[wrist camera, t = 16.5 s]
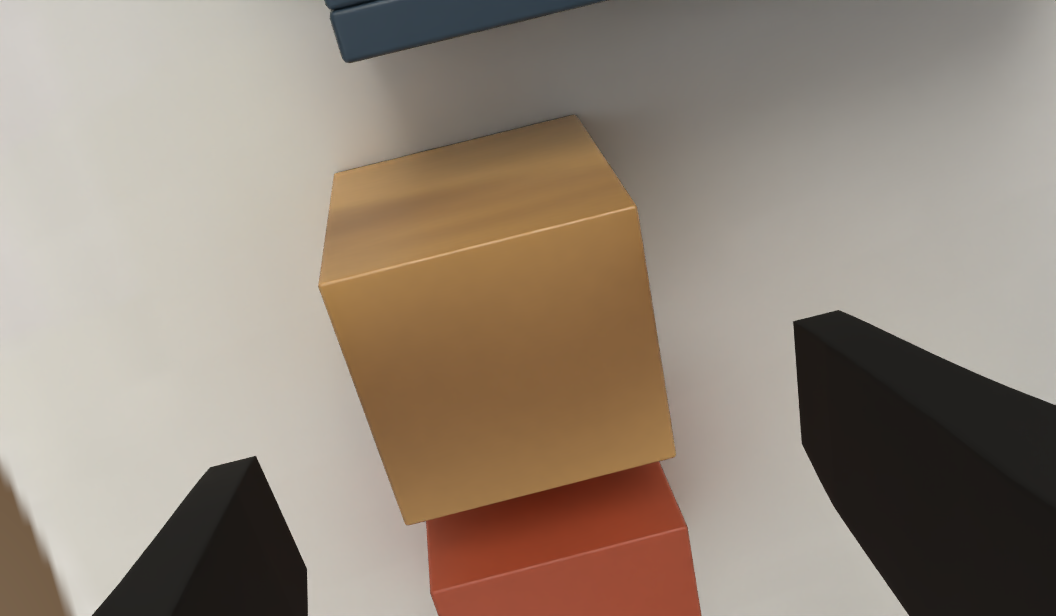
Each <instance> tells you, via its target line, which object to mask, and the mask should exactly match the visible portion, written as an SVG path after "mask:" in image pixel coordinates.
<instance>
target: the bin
mask: <svg viewBox="0 0 1056 616" xmlns="http://www.w3.org/2000/svg"><path fill="white" fill-rule="evenodd" d="M324 1H325V4H326V6H327V7H328V8H329V9H331V12H330V20H331V24H332V27H333V30H334V33H335V37H336V40H337V43H338V46H339V50H340V53H341V56H342V59H343V60H344V61H345V62H347V63H353V62H357V61H361V60H365V59H369V58H373V57H377V56H382V55H386V54H390V53H394V52H398V51H402V50H406V49H410V48H414V47H419V46H423V45H427V44H431V43H435V42H439V41H443V40H447V39H451V38H455V37H460V36H464V35H468V34H472V33H476V32H480V31H484V30H488V29H492V28H497V27H501V26H505V25H509V24H513V23H517V22H521V21H525V20H529V19H533V18H538V17H542V16H546V15H550V14H554V13H558V12H562V11H566V10H570V9H575V8H579V7H583V6H587V5H591V4H595V3H599V2H603V1H607V0H324Z"/></svg>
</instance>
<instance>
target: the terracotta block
mask: <svg viewBox="0 0 1056 616" xmlns="http://www.w3.org/2000/svg"><path fill="white" fill-rule="evenodd" d="M426 528H427V545H428V561H429V578H430V594H431V597H432V599H433V602H434V605H435V607H436V610H437V613H438V616H701V610H700V603H699V597H698V591H697V584H696V578H695V572H694V565H693V559H692V553H691V546H690V540H689V534H688V527H687V525H686V523H685V520H684V518H683V516H682V513H681V511H680V509H679V506H678V504H677V502H676V499H675V497H674V495H673V493H672V490H671V488H670V486H669V483H668V481H667V479H666V476H665V474H664V472H663V469H662V467H661V465H660V462H659V461H658V462H654V463H650V464H646V465H642V466H638V467H634V468H630V469H627V470H623V471H619V472H615V473H611V474H607V475H603V476H599V477H595V478H591V479H588V480H584V481H580V482H576V483H572V484H568V485H564V486H560V487H556V488H552V489H549V490H545V491H541V492H537V493H533V494H529V495H525V496H521V497H517V498H513V499H510V500H506V501H502V502H498V503H494V504H490V505H486V506H482V507H478V508H475V509H471V510H467V511H463V512H459V513H455V514H451V515H447V516H443V517H439V518H436V519H432V520H428V521H426Z"/></svg>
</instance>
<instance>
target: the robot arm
mask: <svg viewBox="0 0 1056 616" xmlns="http://www.w3.org/2000/svg"><path fill="white" fill-rule="evenodd" d="M793 324H794V339H795V353H796V367H797V382H798V396H799V410H800V425H801V439H802V445H803V447H804V449H805V451H806V453H807V455H808V457H809V459H810V461H811V463H812V465H813V467H814V469H815V471H816V473H817V475H818V477H819V479H820V481H821V483H822V485H823V487H824V489H825V491H826V493H827V494H828V496H829V498H830V500H831V502H832V504H833V506H834V507H835V509H836V510H837V512H838V513H839V515H840V516H841V518H842V519H843V521H844V522H845V524H846V525H847V527H848V528H849V530H850V531H851V533H852V534H853V535H854V537H855V538H856V540H857V541H858V543H859V544H860V546H861V547H862V549H863V550H864V551H865V553H866V554H867V556H868V557H869V559H870V560H871V562H872V563H873V564H874V566H875V567H876V569H877V570H878V572H879V573H880V574H881V576H882V577H883V579H884V580H885V582H886V583H887V584H888V586H889V587H890V589H891V590H892V592H893V593H894V594H895V596H896V597H897V599H898V600H899V602H900V603H901V604H902V606H903V607H904V609H905V610H906V612H907V613H908V615H909V616H1056V405H1053V404H1051V403H1048V402H1046V401H1043V400H1040V399H1038V398H1035V397H1033V396H1030V395H1028V394H1025V393H1022V392H1020V391H1017V390H1015V389H1012V388H1010V387H1007V386H1005V385H1002V384H1000V383H998V382H995V381H993V380H990V379H988V378H986V377H983V376H981V375H979V374H976V373H974V372H972V371H970V370H967V369H965V368H963V367H961V366H958V365H956V364H954V363H952V362H950V361H947V360H945V359H943V358H941V357H939V356H936V355H934V354H932V353H930V352H928V351H926V350H924V349H921V348H919V347H917V346H915V345H913V344H911V343H909V342H907V341H905V340H902V339H900V338H898V337H896V336H894V335H892V334H890V333H888V332H886V331H884V330H882V329H879V328H877V327H875V326H873V325H871V324H869V323H867V322H865V321H862V320H860V319H858V318H856V317H854V316H851V315H849V314H846V313H844V312H842V311H839V310H837V311H833V312H829V313H825V314H821V315H817V316H813V317H809V318H805V319H801V320H797V321H793ZM92 616H308V598H307V568H306V566H305V564H304V561H303V559H302V557H301V555H300V552H299V550H298V548H297V546H296V544H295V541H294V539H293V537H292V535H291V533H290V530H289V528H288V526H287V524H286V522H285V519H284V517H283V515H282V513H281V510H280V508H279V506H278V504H277V502H276V499H275V497H274V495H273V493H272V491H271V488H270V486H269V484H268V482H267V479H266V477H265V475H264V473H263V471H262V468H261V466H260V464H259V462H258V460H257V457H256V456H254V457H250V458H246V459H242V460H238V461H234V462H230V463H226V464H222V465H218V466H214V467H210V468H209V469H208V470H207V472H206V473H205V474H204V475H203V476H202V477H201V479H200V480H199V481H198V482H197V484H196V485H195V486H194V487H193V489H192V490H191V491H190V493H189V494H188V495H187V496H186V498H185V499H184V500H183V502H182V503H181V504H180V506H179V507H178V508H177V509H176V511H175V512H174V513H173V515H172V516H171V517H170V519H169V520H168V521H167V523H166V524H165V525H164V527H163V528H162V529H161V530H160V532H159V533H158V534H157V536H156V537H155V538H154V540H153V541H152V542H151V543H150V545H149V546H148V547H147V549H146V550H145V551H144V552H143V554H142V555H141V556H140V557H139V559H138V560H137V561H136V563H135V564H134V565H133V566H132V568H131V569H130V570H129V572H128V573H127V574H126V575H125V577H124V578H123V579H122V581H121V582H120V583H119V584H118V585H117V587H116V588H115V589H114V590H113V591H112V593H111V594H110V595H109V596H108V597H107V598H106V600H105V601H104V602H103V603H102V604H101V606H100V607H99V608H98V609H97V610H96V611H95V613H94V614H93V615H92Z"/></svg>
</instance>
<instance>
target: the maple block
mask: <svg viewBox="0 0 1056 616" xmlns="http://www.w3.org/2000/svg"><path fill="white" fill-rule="evenodd" d="M318 287H319V290H320V293H321V295H322V298H323V301H324V304H325V306H326V309H327V312H328V315H329V317H330V320H331V323H332V325H333V328H334V331H335V334H336V336H337V339H338V342H339V345H340V347H341V350H342V353H343V356H344V358H345V361H346V364H347V367H348V369H349V372H350V375H351V377H352V380H353V383H354V386H355V388H356V391H357V394H358V397H359V399H360V402H361V405H362V408H363V410H364V413H365V416H366V419H367V421H368V424H369V427H370V429H371V432H372V435H373V438H374V440H375V443H376V446H377V449H378V451H379V454H380V457H381V460H382V462H383V465H384V468H385V471H386V473H387V476H388V479H389V481H390V484H391V487H392V490H393V492H394V495H395V498H396V501H397V503H398V506H399V509H400V512H401V514H402V517H403V520H404V523H405V524H406V525H412V524H416V523H420V522H424V521H428V520H432V519H436V518H439V517H443V516H447V515H451V514H455V513H459V512H463V511H467V510H471V509H475V508H478V507H482V506H486V505H490V504H494V503H498V502H502V501H506V500H510V499H513V498H517V497H521V496H525V495H529V494H533V493H537V492H541V491H545V490H549V489H552V488H556V487H560V486H564V485H568V484H572V483H576V482H580V481H584V480H588V479H591V478H595V477H599V476H603V475H607V474H611V473H615V472H619V471H623V470H627V469H630V468H634V467H638V466H642V465H646V464H650V463H654V462H658V461H662V460H666V459H669V458H673V457H675V456H676V450H675V444H674V437H673V431H672V425H671V418H670V412H669V406H668V399H667V393H666V386H665V380H664V374H663V367H662V361H661V355H660V348H659V342H658V336H657V329H656V323H655V317H654V310H653V304H652V298H651V291H650V285H649V278H648V272H647V266H646V259H645V253H644V247H643V240H642V234H641V228H640V221H639V215H638V209H637V206H636V205H635V203H634V201H633V200H632V198H631V197H630V195H629V194H628V192H627V191H626V189H625V188H624V186H623V185H622V183H621V182H620V180H619V179H618V177H617V176H616V174H615V173H614V171H613V170H612V168H611V167H610V165H609V164H608V162H607V161H606V159H605V158H604V156H603V155H602V153H601V152H600V150H599V149H598V147H597V145H596V144H595V142H594V141H593V139H592V138H591V136H590V135H589V133H588V132H587V130H586V129H585V127H584V126H583V124H582V123H581V121H580V120H579V118H578V117H577V115H570V116H566V117H562V118H558V119H554V120H550V121H546V122H542V123H538V124H534V125H530V126H526V127H522V128H518V129H514V130H509V131H505V132H501V133H497V134H493V135H489V136H485V137H481V138H477V139H473V140H469V141H465V142H461V143H457V144H453V145H449V146H445V147H440V148H436V149H432V150H428V151H424V152H420V153H416V154H412V155H408V156H404V157H400V158H396V159H392V160H388V161H384V162H380V163H375V164H371V165H367V166H363V167H359V168H355V169H351V170H347V171H343V172H339V173H336V174H334V178H333V186H332V193H331V200H330V207H329V214H328V221H327V228H326V235H325V242H324V249H323V256H322V264H321V271H320V278H319V285H318Z"/></svg>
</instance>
